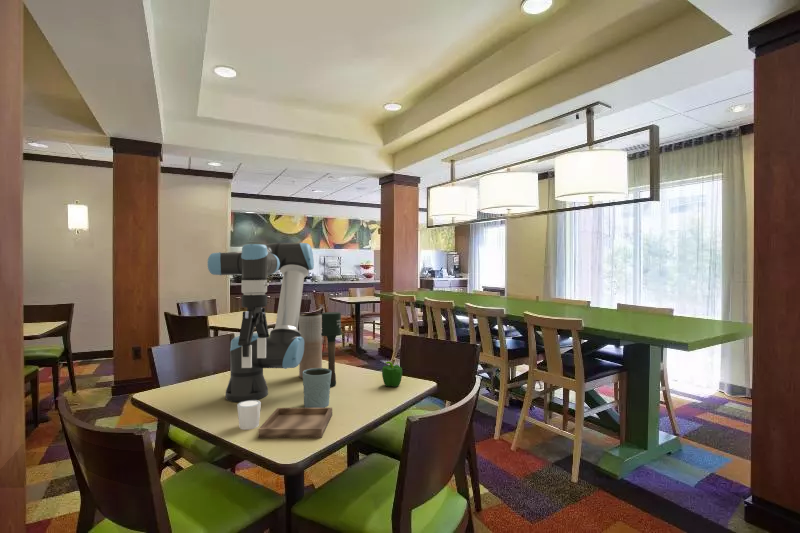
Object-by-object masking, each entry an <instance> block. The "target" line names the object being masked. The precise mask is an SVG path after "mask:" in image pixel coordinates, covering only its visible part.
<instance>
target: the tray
mask: <svg viewBox="0 0 800 533" xmlns="http://www.w3.org/2000/svg"><path fill="white" fill-rule="evenodd" d="M332 417H333V407H325V408H305V407H276V409H275V410H274V411H273V412H272V414H270V416H269V417H268V418H267V419H266V420H265V421H264V422H263V423H262V425H261V426H260V427H259V428H258V429H257V430H258V439H316V438H317V439H319V438H320V439H322V438H323V436H324V433H325V431H326V429H327V427H328V425H329V423H330V420H331V419H332Z"/></svg>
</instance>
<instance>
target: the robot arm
mask: <svg viewBox="0 0 800 533" xmlns="http://www.w3.org/2000/svg"><path fill="white" fill-rule="evenodd" d="M314 263H315V262H314V253H313V249H312V246H311V245H310V244H309V243H307V242H273V243H272V242H271V243H268V244H262V243H261V244H259V243H247V244H243V246H242V247H241V250H236V251H228V252H212V253H210V255H209V256H208V259H207V270H208V272H209V273H210V274H211V275H213V276H229V275H230V276H234V275H235V276H238V275H239V276H241V294H242V295H241V307H242V308H247V310H245V311H242V319H241V324H240V332H239V335H238V336H235V337H233V338H232V339H231V341H230V348H229V354H230V355H229V357H230V360H229V362H230V365H229V366H230V367H229V368H230V377H229V381H228V383H227V386H226V390H225V399H226V400H227V401H229V402H235V403H237V402H238V403H240V402H243V401H248V400H260V399H263V398H265V397H267V396H268V394H269V388H268V384H267V380H266V379H265V375H264V369H283V370H284V369H285V370H287V369H295V368H297V367H299V364H300V362H301V360H302V357H303V353H304V339H303V338H302V337H301V333H300V332H299V315H300V313H301V307H302V306H301V305H302V297H303V289H304V281H305V278H306V277H307V276H308V275H309V272H310V271H313V269H314V265H315V264H314ZM278 271H280V273H281V274H282V275H283V276H282V281H281V282H282V283H281V288H280V295H279V301H278V307H277V314H276V321H275V325H274V326H275V327H274V328H273V329H271V330H270V331H269V327H268V321H267V316H266V308H265V307H267V306H268V295H267V294H266V293H267V292H268V287H269V285H270V283H268V276H270V275H273V274H276V273H277V272H278ZM255 330H256V332H254V331H255Z"/></svg>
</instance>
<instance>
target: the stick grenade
mask: <svg viewBox="0 0 800 533" xmlns="http://www.w3.org/2000/svg"><path fill="white" fill-rule="evenodd" d="M321 315H322V333H321V335H322V337H326V339H327V340H326V342H327V352H328V353H327V354H328V356H327V357H328V358H327V359H328V360H327V362H328V365H327V366H328V368H327V369H329V370H331V371H332V373H331V384H330V388H332V387H335V386H336V385H337V379H336V378H337V376H336V354H335V353H336V338H337V337H338V336H341V335H343V333H342V313H341V312H339V311H330V312H329V311H327V312H322V313H321Z"/></svg>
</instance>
